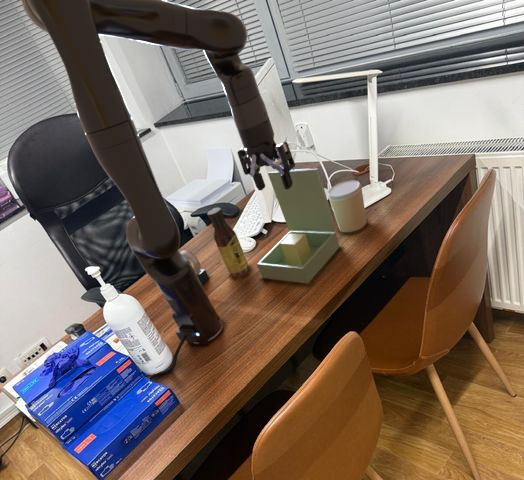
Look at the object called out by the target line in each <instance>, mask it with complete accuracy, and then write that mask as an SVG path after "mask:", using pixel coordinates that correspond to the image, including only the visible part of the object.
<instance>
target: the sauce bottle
mask: <svg viewBox="0 0 524 480" xmlns="http://www.w3.org/2000/svg"><path fill="white" fill-rule="evenodd" d="M207 217H208V219H209V221H210V222H211V224H212V227H213V230H214V231H213V239H214V241H215V244H216V247H217V249H218V251H219V254H220V256H221V258H222V260H223V263H224V265H225V268H226V269H227V272H228V273H229V275H230V276H231V277H232V278H233V277H234V278H238V277H241V276H243V275H245V274H246V273H247V272H248V271H249V269H250V266H249V261H248V260H247V258H246V255H245V252H244V250H243V247H242V245H241V242H240V240H239V238H238V235H237V233H236V231H235V230H234V229H233V228H232V227H231V225H229V224H228V222H227V220H226V218H225V216H224V213H223V209H222V208H221V207H214V208H212V209H210V210H209V211H208V212H207Z"/></svg>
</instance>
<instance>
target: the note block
mask: <svg viewBox="0 0 524 480" xmlns="http://www.w3.org/2000/svg"><path fill="white" fill-rule="evenodd" d="M280 244H281V247H282V250H283V253H284V255H285V258H286V261H287V264H288V266H298V267H302V266H303V265H304V264H305V263H306V262H307V261H308V260H309V259H310V258H311V257H312V254H311V251H310V248H309V244H308V241H307V238H306V235H305V234H295V233H290V234H289V235H288V236H287V237H286V238H285V239H284V240H283V241H282V242H281V243H280Z"/></svg>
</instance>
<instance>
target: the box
mask: <svg viewBox="0 0 524 480" xmlns="http://www.w3.org/2000/svg"><path fill="white" fill-rule="evenodd" d="M290 233H295V234H305V235H306V238H307V241H308V244H309V248H310V251H311V254H312V257H311V258H310V259H309V260H308V261H307V262H306V263H305V264H304V265H303V266H302V267H298V266H288V264H287V261H286V258H285V255H284V253H283V250H282V247H281V244H280V243H281V242H282V241H283V240H284V239H285V238H286V237H287V236H288V235H289V234H290ZM339 249H340V243H339V239H338V235H337V232H336V231H335V232H334V231H305V230H288V232H287V233H286V234H285V235H284V236H283V237H282V238H281V239H280V240H279V241H278V242H277V243H276V244H275V245H274V246H273V247H272V248H271V249H270V250H269V251H267V253H266V254H265V255H264V256H263V257H262V258H261V259H260V260H259V262H257V263H256V267H257V268H258V270H259V274H260V276H261V278H262V279H268V280H278V281H284V282H291V283H293V282H294V283H300V284H309V283H310V282H311V281H312V279H313V278H314V277H315V276H316V275H317V274H318V273H319V272H320V270H321V269H322V268H323V267H324V266H325V265H326V263H328V261H329V260H330V259H331V258H332V256H333V255H334V254H335V253H336V252H337V251H338V250H339Z"/></svg>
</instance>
